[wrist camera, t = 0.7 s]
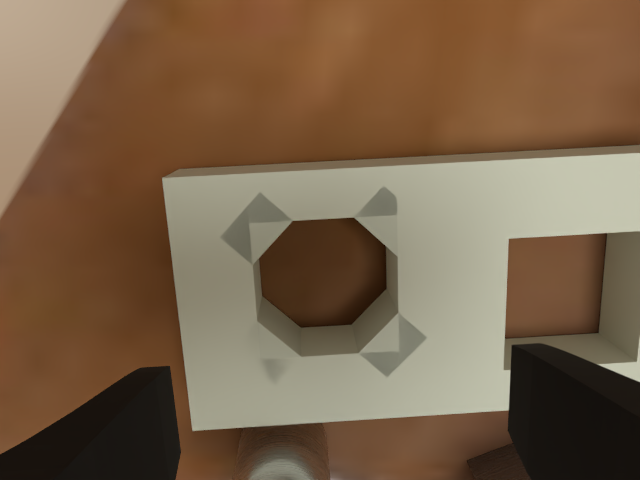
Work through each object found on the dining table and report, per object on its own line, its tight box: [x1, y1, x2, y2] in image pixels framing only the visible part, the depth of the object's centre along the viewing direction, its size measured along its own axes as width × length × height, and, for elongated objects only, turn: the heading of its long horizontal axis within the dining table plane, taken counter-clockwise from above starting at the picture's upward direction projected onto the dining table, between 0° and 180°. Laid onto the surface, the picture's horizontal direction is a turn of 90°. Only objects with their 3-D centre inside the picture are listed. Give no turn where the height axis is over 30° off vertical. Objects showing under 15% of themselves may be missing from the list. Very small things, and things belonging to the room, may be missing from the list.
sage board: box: [162, 145, 640, 431], centre depth 19 cm, size 9×18×2 cm, turn 93°
